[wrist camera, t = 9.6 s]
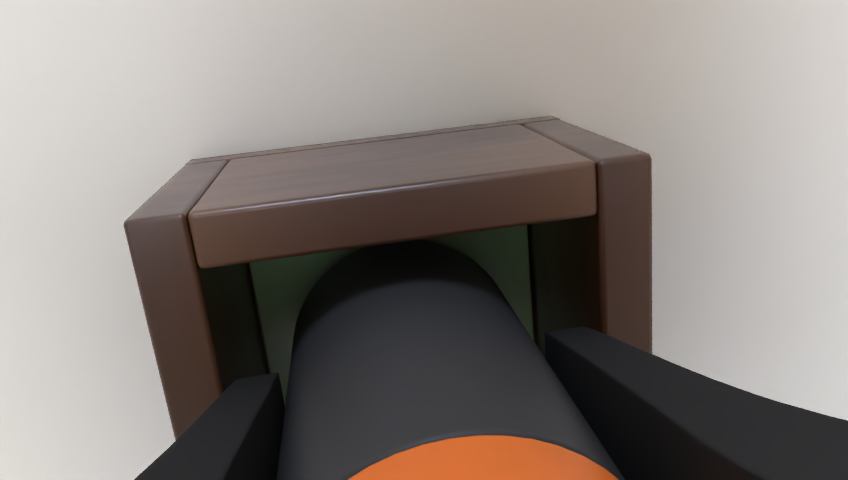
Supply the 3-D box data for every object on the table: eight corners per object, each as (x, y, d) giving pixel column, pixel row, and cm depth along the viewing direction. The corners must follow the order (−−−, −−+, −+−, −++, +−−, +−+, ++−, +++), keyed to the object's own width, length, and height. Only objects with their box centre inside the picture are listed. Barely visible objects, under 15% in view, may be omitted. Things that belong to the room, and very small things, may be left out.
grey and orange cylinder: (503, 223, 12) (742, 487, 5) (517, 420, 14) (726, 855, 6) (276, 254, 12) (197, 584, 5) (311, 453, 13) (288, 954, 6)
